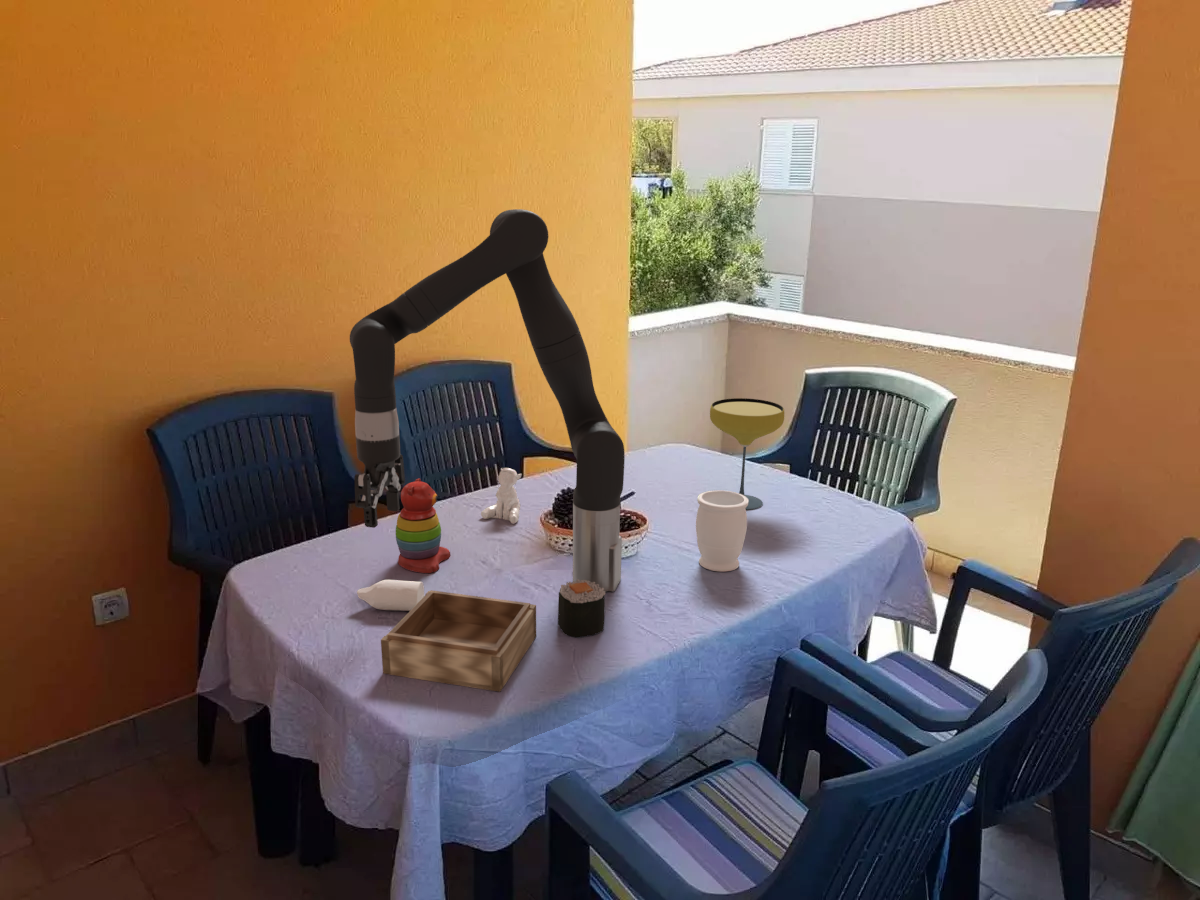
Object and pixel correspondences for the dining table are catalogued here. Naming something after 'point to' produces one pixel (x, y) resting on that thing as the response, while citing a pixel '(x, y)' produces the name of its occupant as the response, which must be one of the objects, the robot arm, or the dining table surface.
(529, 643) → the box
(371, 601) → the roll
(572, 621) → the sushi
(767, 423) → the cocktail glass
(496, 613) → the upper crate
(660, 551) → the dining table surface
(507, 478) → the sitting furry creature
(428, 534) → the stacking bear
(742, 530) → the jar
